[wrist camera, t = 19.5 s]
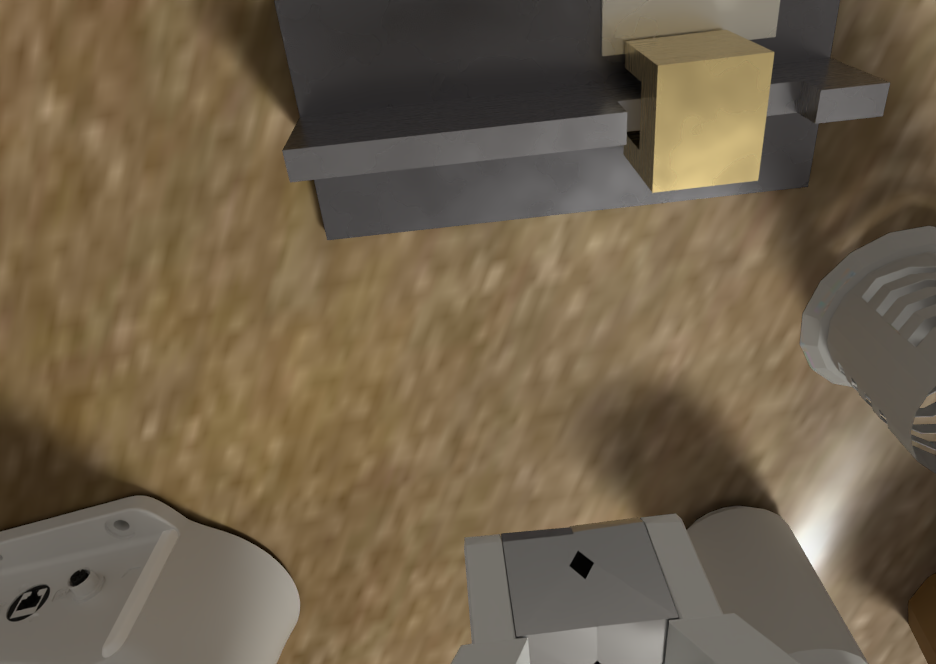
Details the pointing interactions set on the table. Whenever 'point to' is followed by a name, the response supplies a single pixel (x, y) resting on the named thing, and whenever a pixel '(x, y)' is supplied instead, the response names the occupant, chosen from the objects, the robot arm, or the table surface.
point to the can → (771, 584)
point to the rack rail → (526, 103)
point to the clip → (699, 109)
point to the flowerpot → (924, 618)
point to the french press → (881, 330)
